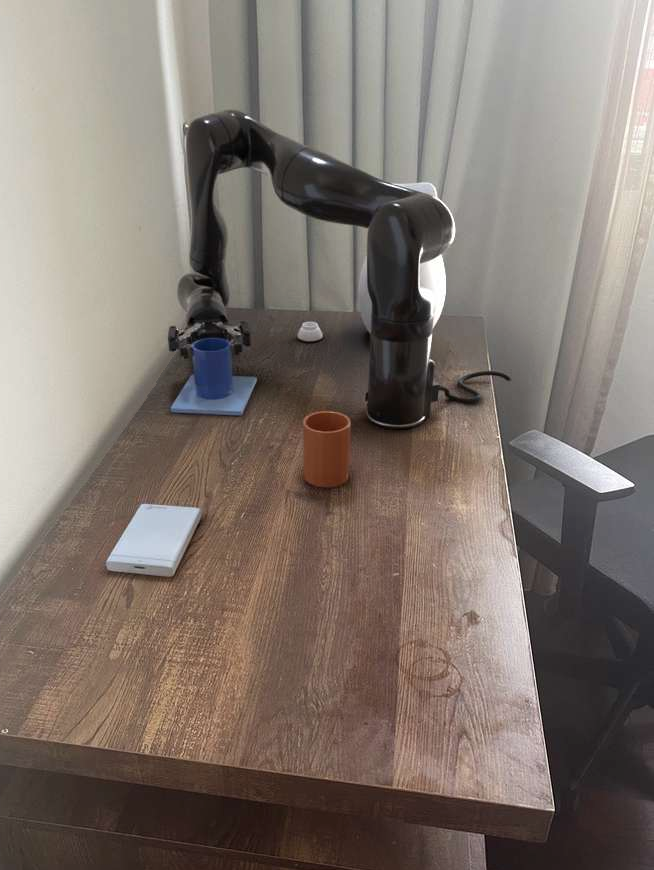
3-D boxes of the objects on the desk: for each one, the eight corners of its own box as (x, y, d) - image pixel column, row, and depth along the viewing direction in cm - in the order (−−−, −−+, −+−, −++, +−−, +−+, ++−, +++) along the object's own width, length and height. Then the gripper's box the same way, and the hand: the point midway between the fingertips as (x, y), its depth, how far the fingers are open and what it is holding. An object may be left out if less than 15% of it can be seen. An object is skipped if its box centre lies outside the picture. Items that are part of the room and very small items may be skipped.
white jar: (293, 341, 148) (316, 344, 147) (293, 326, 147) (316, 330, 145) (303, 332, 152) (326, 335, 150) (303, 318, 151) (326, 321, 149)
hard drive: (140, 502, 97) (105, 559, 86) (201, 507, 95) (172, 566, 85) (142, 513, 97) (107, 571, 87) (202, 518, 96) (173, 577, 86)
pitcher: (358, 320, 158) (363, 180, 142) (439, 322, 155) (453, 180, 140) (352, 363, 138) (357, 206, 123) (444, 366, 136) (461, 207, 120)
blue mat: (191, 378, 134) (191, 374, 134) (256, 380, 132) (256, 376, 132) (170, 412, 123) (170, 408, 122) (241, 415, 121) (241, 411, 120)
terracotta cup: (336, 460, 108) (337, 407, 103) (356, 481, 103) (358, 427, 98) (296, 469, 106) (295, 416, 101) (314, 491, 101) (314, 436, 96)
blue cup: (226, 381, 131) (223, 335, 126) (238, 395, 126) (235, 348, 121) (191, 387, 129) (187, 341, 124) (202, 402, 124) (198, 354, 119)
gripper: (166, 301, 134) (166, 333, 120) (244, 296, 135) (253, 327, 121) (170, 341, 138) (170, 375, 124) (246, 336, 139) (255, 369, 125)
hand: (211, 351), depth 123 cm, fingers open, 8 cm apart
